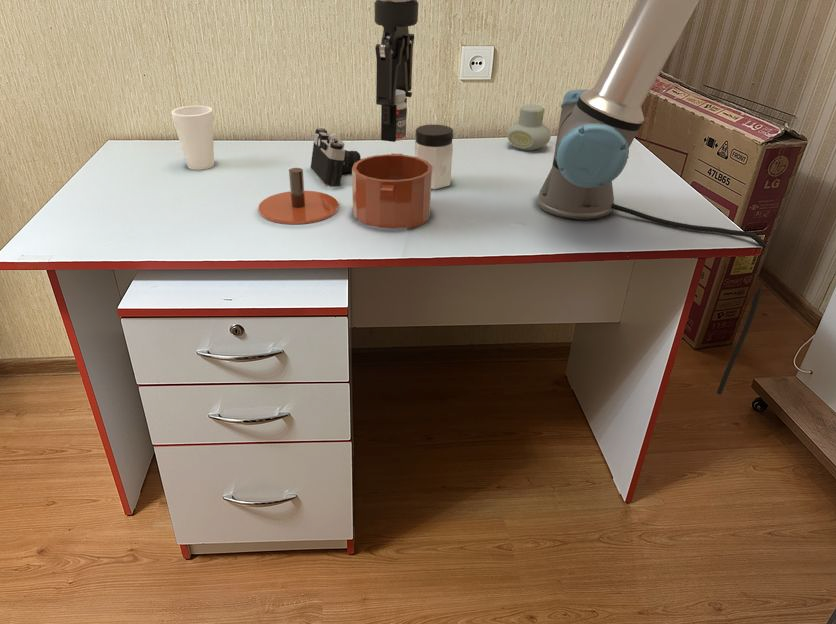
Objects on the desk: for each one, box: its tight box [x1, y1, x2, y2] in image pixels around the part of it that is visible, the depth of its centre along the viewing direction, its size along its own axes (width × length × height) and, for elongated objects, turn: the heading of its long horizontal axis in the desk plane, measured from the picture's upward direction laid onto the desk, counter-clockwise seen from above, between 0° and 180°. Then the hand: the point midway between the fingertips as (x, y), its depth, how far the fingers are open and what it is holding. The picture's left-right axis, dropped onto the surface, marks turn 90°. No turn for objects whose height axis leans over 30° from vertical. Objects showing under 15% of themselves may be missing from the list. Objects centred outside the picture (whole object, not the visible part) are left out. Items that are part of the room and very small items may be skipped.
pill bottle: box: [394, 89, 408, 142], centre depth 120 cm, size 5×5×8 cm
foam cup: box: [170, 105, 215, 171], centre depth 153 cm, size 10×9×13 cm
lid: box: [257, 167, 339, 225], centre depth 130 cm, size 17×17×9 cm
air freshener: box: [506, 104, 552, 151], centre depth 163 cm, size 11×8×10 cm
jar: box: [414, 124, 454, 190], centre depth 142 cm, size 9×8×12 cm
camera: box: [310, 126, 362, 188], centre depth 147 cm, size 15×11×10 cm
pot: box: [351, 153, 432, 230], centre depth 128 cm, size 16×21×10 cm
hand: (393, 136), depth 122 cm, fingers closed on pill bottle, 5 cm apart
